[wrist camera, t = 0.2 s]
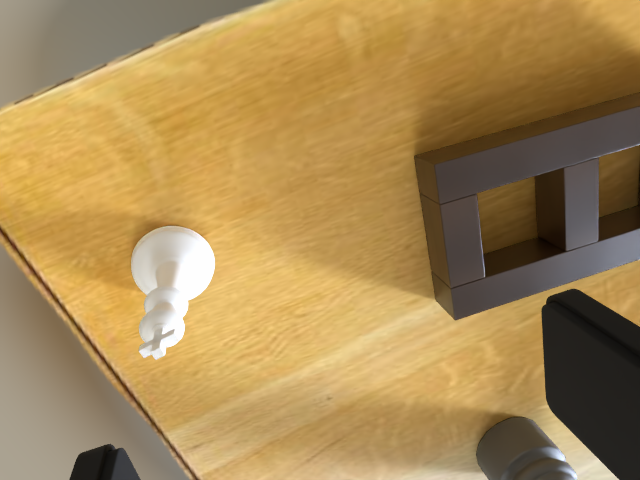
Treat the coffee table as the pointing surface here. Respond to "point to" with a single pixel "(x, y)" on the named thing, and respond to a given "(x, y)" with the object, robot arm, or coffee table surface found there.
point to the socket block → (551, 204)
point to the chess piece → (169, 282)
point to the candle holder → (521, 453)
